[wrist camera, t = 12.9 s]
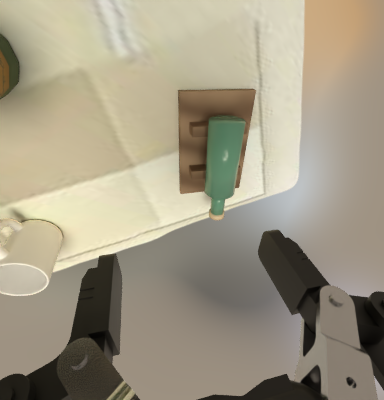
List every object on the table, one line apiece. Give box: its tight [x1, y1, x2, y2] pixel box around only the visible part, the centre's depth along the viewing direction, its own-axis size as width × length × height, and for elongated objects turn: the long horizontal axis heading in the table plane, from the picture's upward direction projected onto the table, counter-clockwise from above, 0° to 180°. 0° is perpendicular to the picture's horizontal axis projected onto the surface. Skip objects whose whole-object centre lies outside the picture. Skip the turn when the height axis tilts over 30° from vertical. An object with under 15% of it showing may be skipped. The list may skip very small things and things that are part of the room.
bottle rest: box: [178, 89, 256, 194], centre depth 38 cm, size 18×12×4 cm, turn 179°
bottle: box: [204, 115, 246, 220], centre depth 37 cm, size 18×5×5 cm, turn 179°
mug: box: [0, 218, 63, 296], centre depth 37 cm, size 12×8×10 cm
